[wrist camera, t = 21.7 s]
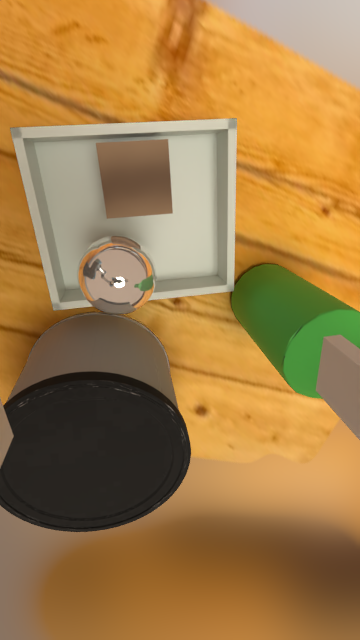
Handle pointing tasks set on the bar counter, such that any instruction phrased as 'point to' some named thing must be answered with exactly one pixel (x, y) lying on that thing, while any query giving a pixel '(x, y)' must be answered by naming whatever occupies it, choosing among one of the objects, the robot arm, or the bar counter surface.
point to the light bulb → (116, 274)
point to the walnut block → (135, 177)
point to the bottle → (291, 322)
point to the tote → (150, 231)
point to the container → (93, 427)
